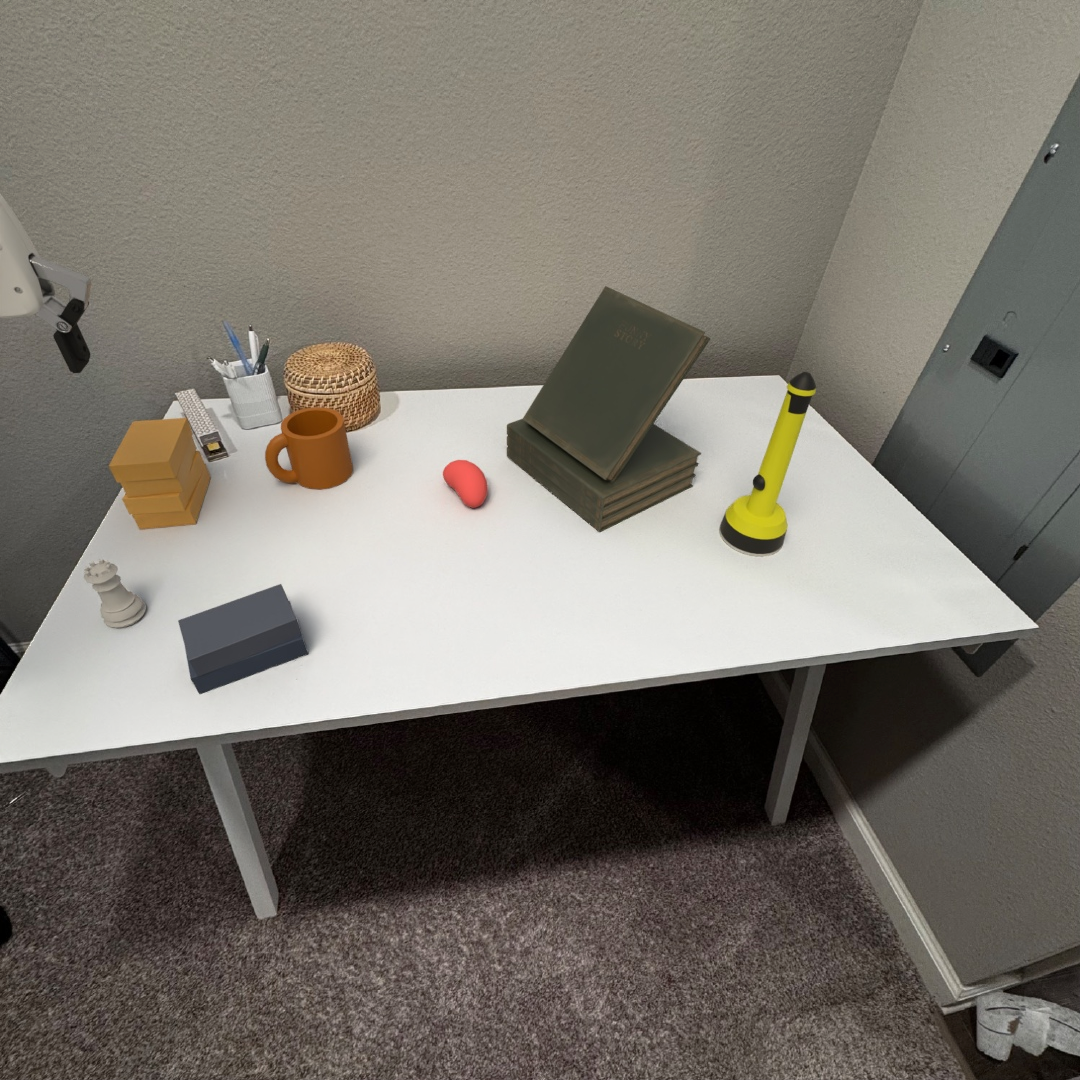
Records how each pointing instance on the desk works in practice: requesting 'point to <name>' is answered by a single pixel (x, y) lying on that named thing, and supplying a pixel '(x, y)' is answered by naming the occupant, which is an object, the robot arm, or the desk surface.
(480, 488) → the red kidney bean
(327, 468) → the mug
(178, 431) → the orange tan block
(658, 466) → the olive book stack
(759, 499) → the flashlight
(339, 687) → the desk surface
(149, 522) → the tan block stack
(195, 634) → the slate books
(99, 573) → the rook chess piece
